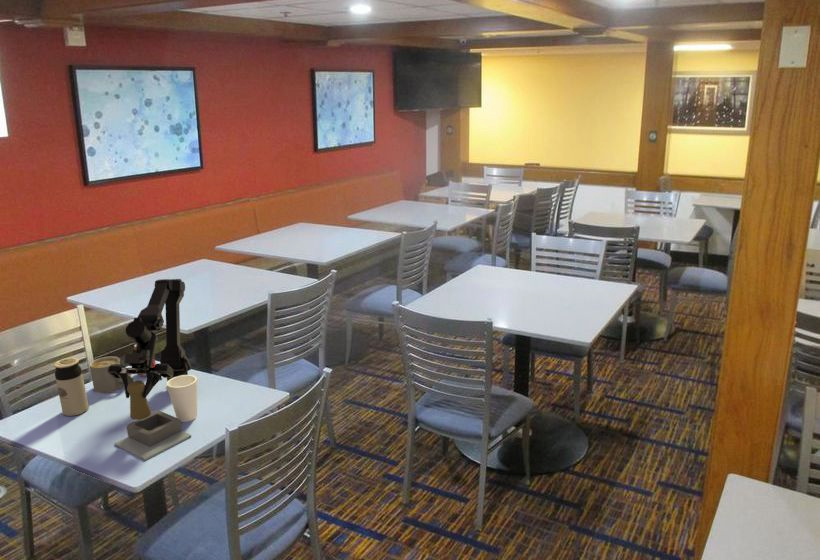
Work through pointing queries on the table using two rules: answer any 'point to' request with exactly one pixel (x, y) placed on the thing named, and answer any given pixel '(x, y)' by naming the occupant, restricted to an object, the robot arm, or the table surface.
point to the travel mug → (71, 386)
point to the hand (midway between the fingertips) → (135, 397)
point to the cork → (138, 401)
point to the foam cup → (184, 396)
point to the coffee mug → (104, 375)
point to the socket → (152, 435)
